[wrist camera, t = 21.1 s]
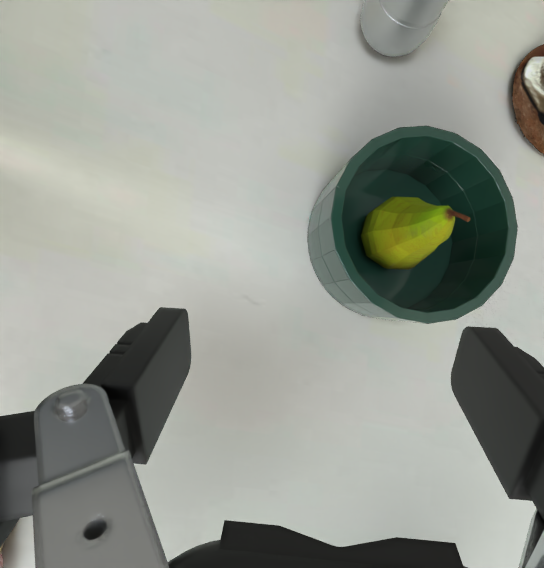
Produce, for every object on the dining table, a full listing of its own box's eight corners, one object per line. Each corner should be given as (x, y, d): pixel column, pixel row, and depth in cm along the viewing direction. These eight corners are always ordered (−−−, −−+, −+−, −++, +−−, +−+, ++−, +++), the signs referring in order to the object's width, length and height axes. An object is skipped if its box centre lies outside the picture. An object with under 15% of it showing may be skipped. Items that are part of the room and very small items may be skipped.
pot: (279, 270, 33) (296, 260, 26) (352, 135, 35) (387, 89, 28) (415, 346, 35) (468, 357, 27) (479, 212, 36) (545, 189, 29)
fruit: (403, 197, 35) (498, 142, 23) (426, 260, 35) (533, 237, 23) (341, 219, 34) (407, 172, 22) (365, 283, 34) (443, 271, 22)
